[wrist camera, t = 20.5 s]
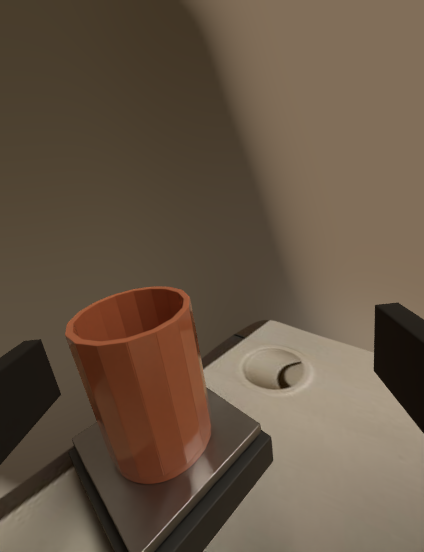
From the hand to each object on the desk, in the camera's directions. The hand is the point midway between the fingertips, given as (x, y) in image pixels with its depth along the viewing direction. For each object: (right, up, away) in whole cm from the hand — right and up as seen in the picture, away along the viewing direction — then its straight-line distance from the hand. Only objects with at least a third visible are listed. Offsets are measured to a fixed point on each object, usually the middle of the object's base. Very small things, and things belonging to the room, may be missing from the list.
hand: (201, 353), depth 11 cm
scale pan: (-3, -9, +9) cm, 13 cm away
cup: (-3, -8, +9) cm, 13 cm away
